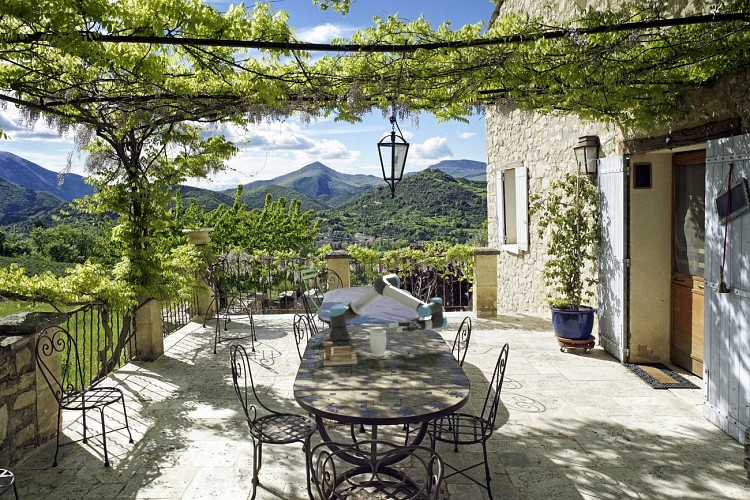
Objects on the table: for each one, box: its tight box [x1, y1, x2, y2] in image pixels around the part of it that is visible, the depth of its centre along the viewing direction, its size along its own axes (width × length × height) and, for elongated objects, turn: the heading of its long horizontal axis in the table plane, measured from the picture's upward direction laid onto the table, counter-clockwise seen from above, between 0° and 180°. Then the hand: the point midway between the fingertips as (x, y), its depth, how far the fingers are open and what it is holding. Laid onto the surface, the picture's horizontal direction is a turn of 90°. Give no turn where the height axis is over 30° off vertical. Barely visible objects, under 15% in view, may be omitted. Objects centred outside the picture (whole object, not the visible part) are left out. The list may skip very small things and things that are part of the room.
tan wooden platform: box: [322, 341, 358, 367], centre depth 324 cm, size 22×20×12 cm
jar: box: [369, 329, 387, 358], centre depth 330 cm, size 11×10×15 cm
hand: (392, 327), depth 332 cm, fingers open, 13 cm apart
